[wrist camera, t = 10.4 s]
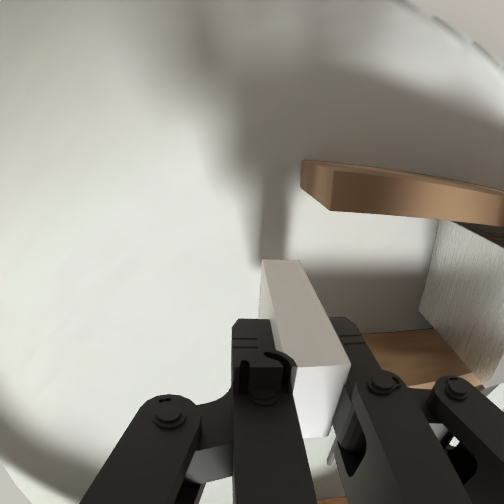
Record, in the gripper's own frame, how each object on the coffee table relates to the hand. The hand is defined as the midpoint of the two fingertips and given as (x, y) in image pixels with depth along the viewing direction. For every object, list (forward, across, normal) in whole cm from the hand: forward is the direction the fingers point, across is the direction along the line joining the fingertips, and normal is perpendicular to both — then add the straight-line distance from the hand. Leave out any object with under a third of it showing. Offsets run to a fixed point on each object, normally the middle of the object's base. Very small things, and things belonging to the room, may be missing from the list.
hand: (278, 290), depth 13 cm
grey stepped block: (+2, +14, +1) cm, 14 cm away
